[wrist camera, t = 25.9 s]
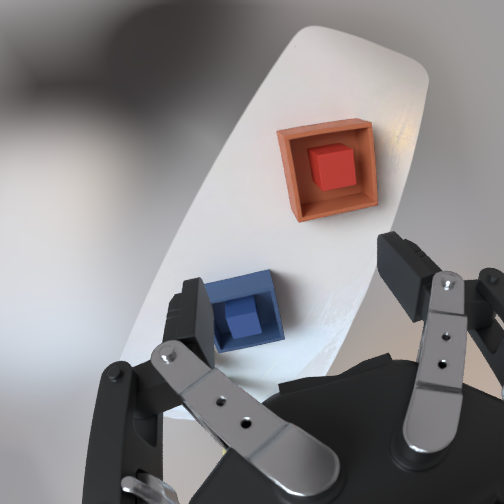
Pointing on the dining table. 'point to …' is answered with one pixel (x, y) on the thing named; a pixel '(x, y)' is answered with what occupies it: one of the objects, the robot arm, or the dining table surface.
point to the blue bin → (266, 306)
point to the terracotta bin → (299, 173)
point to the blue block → (243, 316)
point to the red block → (332, 166)
